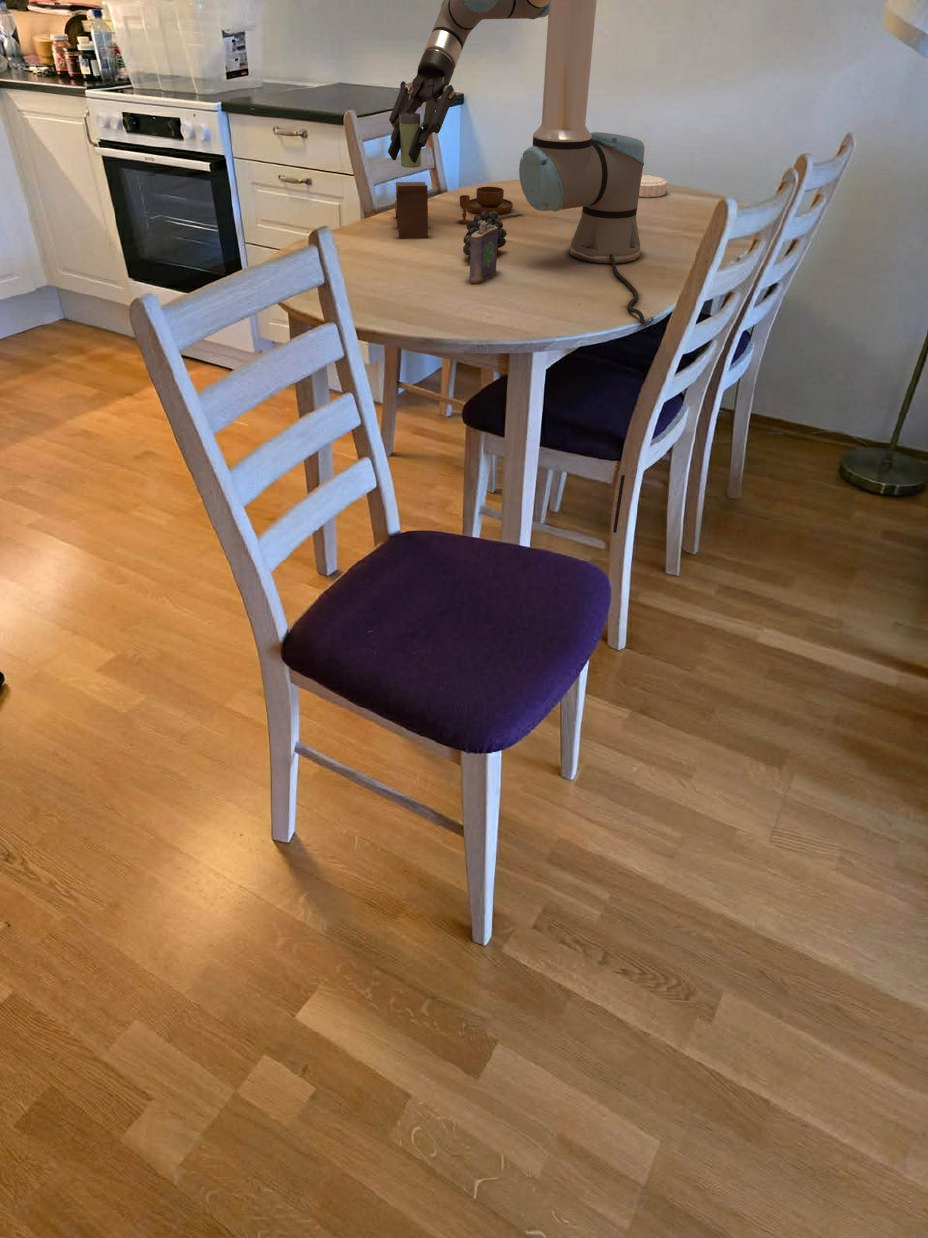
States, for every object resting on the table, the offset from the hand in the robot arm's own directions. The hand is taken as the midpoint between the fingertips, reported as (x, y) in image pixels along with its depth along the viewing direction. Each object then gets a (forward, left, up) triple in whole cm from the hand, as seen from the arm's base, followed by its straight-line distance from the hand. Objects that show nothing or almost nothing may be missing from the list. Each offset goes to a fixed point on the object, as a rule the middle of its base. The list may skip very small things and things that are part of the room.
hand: (401, 156), depth 184 cm
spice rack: (+8, -2, -16) cm, 18 cm away
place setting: (+22, -20, -17) cm, 34 cm away
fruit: (-17, -16, -17) cm, 28 cm away
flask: (-32, -15, -17) cm, 39 cm away
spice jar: (+3, -2, -2) cm, 4 cm away
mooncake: (+42, -69, -17) cm, 82 cm away
